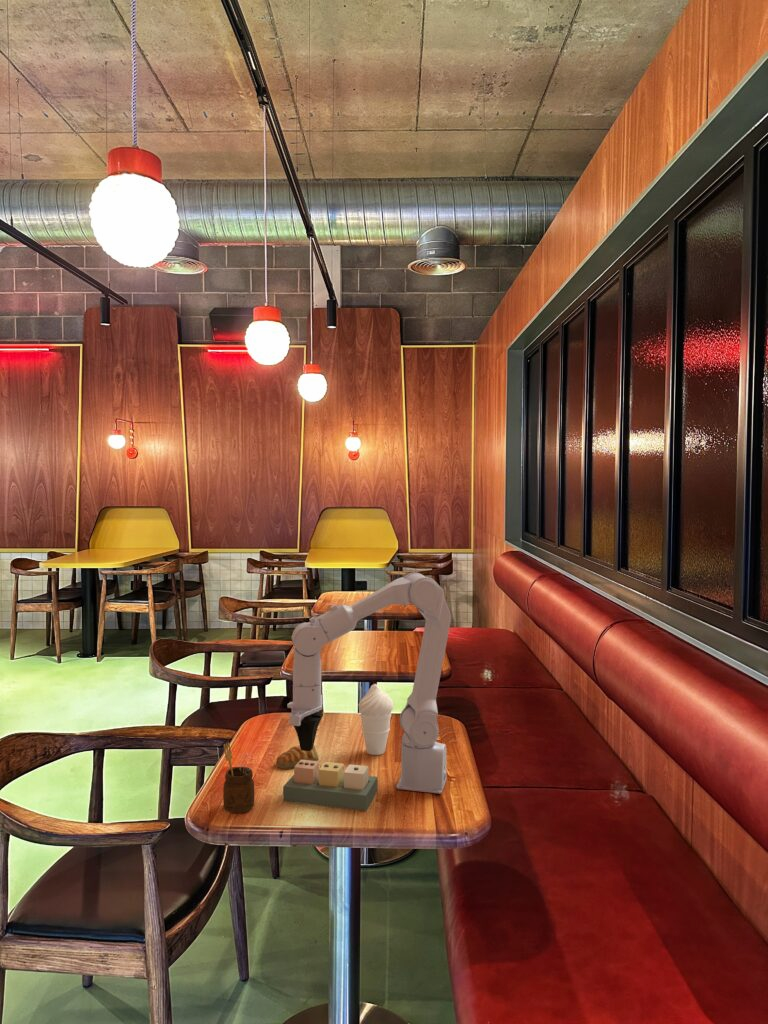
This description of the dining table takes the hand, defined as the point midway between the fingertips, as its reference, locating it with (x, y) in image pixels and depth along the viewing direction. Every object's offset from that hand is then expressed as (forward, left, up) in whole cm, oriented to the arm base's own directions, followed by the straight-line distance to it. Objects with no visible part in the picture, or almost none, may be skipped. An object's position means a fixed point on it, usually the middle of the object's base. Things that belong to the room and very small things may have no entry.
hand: (306, 749), depth 140 cm
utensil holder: (+11, +9, -9) cm, 17 cm away
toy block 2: (-5, 0, -8) cm, 9 cm away
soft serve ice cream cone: (-8, -25, -9) cm, 28 cm away
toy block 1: (0, 0, -7) cm, 7 cm away
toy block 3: (-10, 0, -8) cm, 13 cm away
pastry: (+7, -15, -10) cm, 19 cm away
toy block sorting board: (-5, 0, -9) cm, 10 cm away
